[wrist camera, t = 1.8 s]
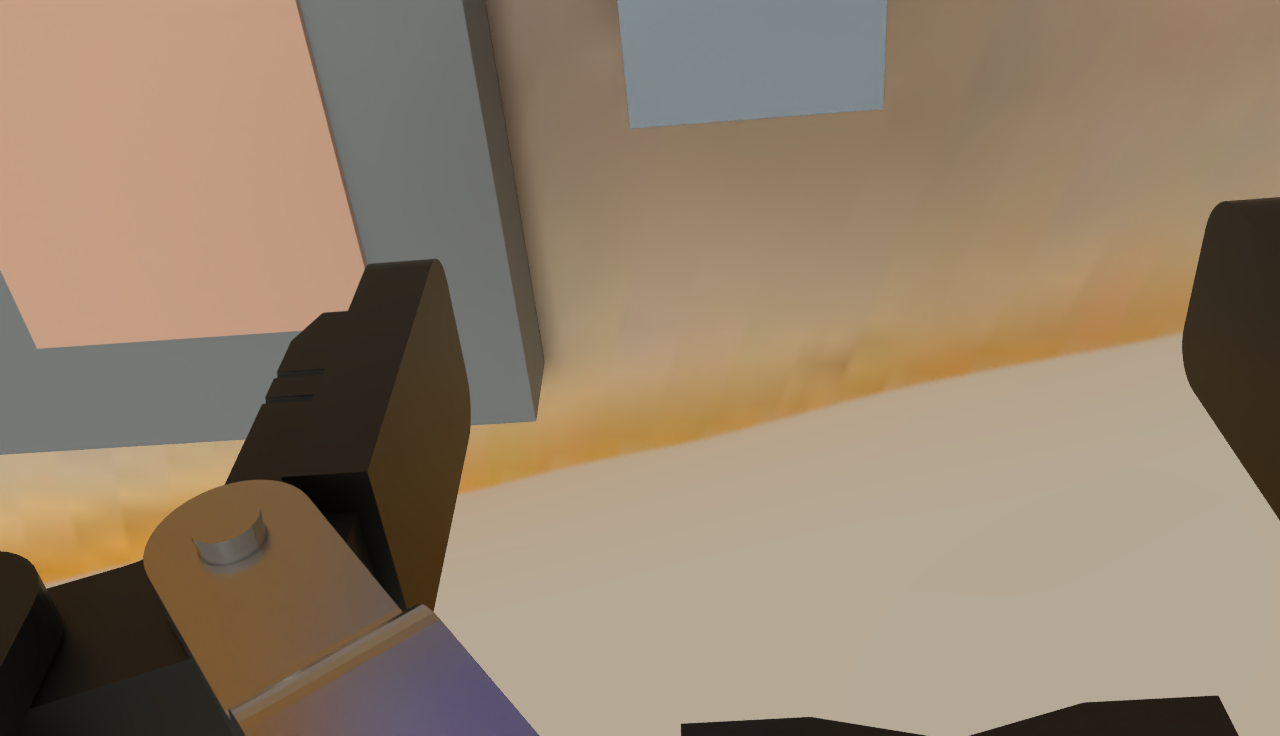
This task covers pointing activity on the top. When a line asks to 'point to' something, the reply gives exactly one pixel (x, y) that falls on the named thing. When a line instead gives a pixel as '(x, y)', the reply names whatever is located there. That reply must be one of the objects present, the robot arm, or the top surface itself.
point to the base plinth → (240, 204)
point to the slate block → (750, 58)
